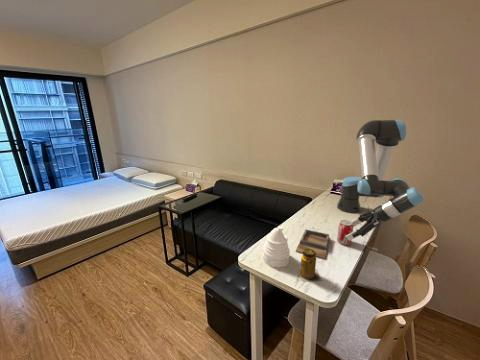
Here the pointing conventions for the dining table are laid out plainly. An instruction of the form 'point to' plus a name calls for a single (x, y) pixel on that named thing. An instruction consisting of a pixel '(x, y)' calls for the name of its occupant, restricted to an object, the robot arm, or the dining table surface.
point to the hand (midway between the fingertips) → (348, 232)
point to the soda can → (344, 232)
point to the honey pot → (276, 249)
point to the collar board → (314, 243)
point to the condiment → (309, 266)
